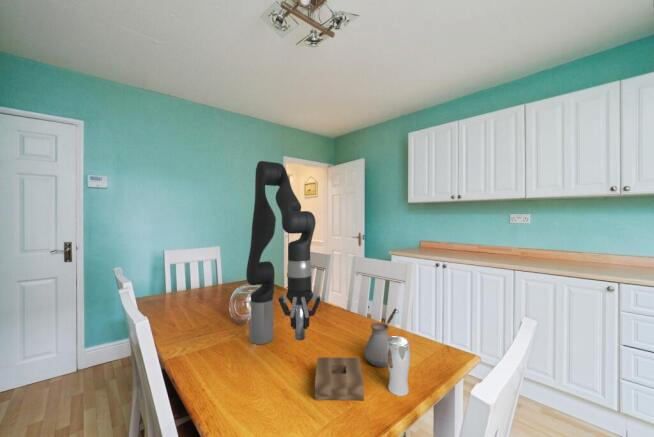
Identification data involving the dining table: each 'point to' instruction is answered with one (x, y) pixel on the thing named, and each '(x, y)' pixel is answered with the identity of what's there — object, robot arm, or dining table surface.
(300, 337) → the pin
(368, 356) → the coffee pot
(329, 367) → the bore block
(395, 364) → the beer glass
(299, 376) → the dining table surface
